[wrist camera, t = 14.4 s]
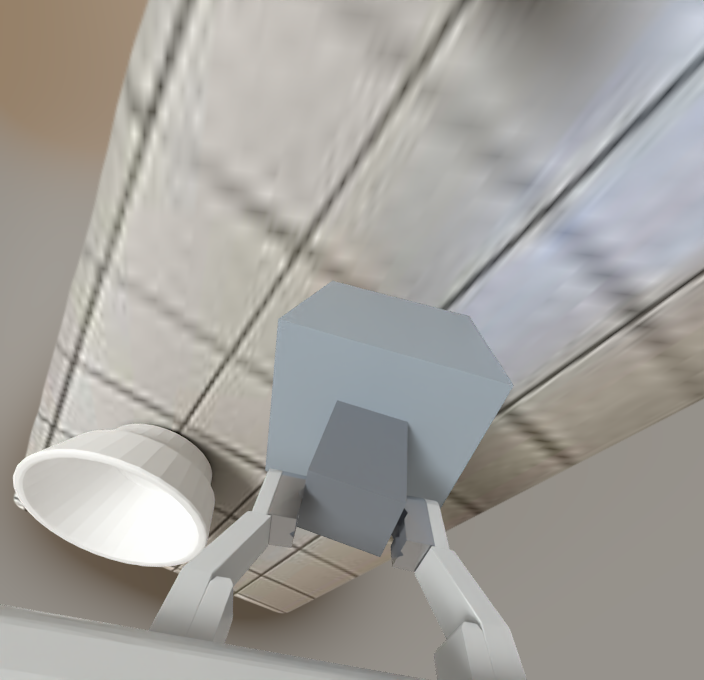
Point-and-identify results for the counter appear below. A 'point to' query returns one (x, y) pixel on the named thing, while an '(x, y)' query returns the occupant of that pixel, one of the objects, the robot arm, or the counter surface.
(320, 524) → the grey block with knob
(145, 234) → the counter surface
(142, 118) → the counter surface
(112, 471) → the bowl
